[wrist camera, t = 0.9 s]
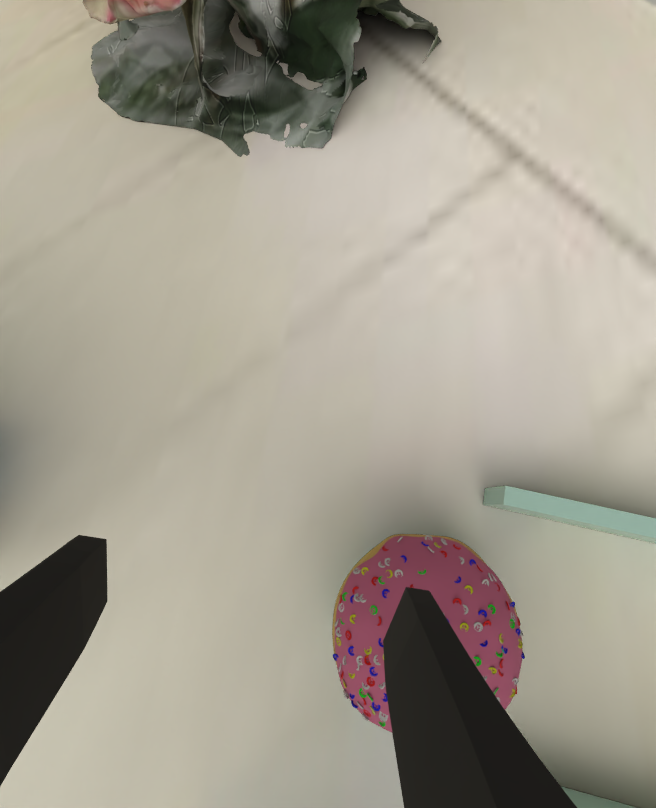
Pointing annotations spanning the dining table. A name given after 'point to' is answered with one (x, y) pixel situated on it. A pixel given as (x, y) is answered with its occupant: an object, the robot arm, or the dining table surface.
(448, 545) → the cupcake
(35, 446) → the dining table surface
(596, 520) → the mint green u shape
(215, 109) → the rose bouquet
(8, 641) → the robot arm
